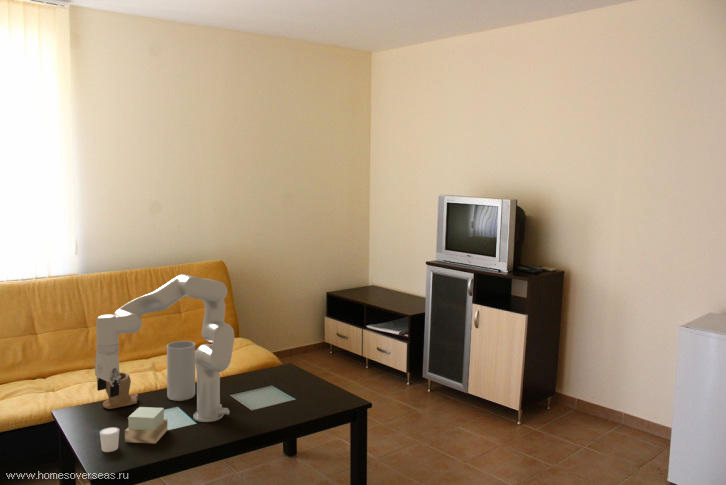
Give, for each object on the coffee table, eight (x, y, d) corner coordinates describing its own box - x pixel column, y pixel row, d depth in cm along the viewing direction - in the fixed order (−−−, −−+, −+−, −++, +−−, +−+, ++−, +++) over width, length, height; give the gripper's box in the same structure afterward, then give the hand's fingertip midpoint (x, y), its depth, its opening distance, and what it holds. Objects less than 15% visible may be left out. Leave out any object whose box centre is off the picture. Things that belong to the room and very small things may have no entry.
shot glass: (112, 453, 210) (112, 435, 209) (95, 451, 211) (95, 433, 211) (123, 445, 217) (123, 427, 216) (107, 443, 218) (107, 426, 217)
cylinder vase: (191, 390, 277) (191, 339, 275) (198, 398, 266) (198, 346, 264) (164, 394, 270) (164, 343, 268) (170, 403, 260) (170, 349, 257)
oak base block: (167, 431, 231) (167, 419, 231) (155, 444, 219) (155, 431, 219) (138, 429, 232) (138, 417, 231) (124, 442, 220) (124, 430, 219)
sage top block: (163, 419, 230) (163, 408, 229) (154, 430, 220) (153, 417, 219) (139, 418, 230) (139, 406, 230) (128, 429, 220) (128, 416, 220)
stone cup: (105, 413, 246) (104, 379, 245) (101, 404, 256) (100, 372, 255) (142, 407, 254) (141, 374, 253) (137, 398, 264) (136, 367, 263)
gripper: (86, 345, 214) (87, 389, 216) (109, 354, 204) (109, 401, 205) (106, 342, 220) (106, 385, 222) (129, 350, 209) (129, 396, 211)
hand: (108, 392), depth 213 cm, fingers open, 9 cm apart
